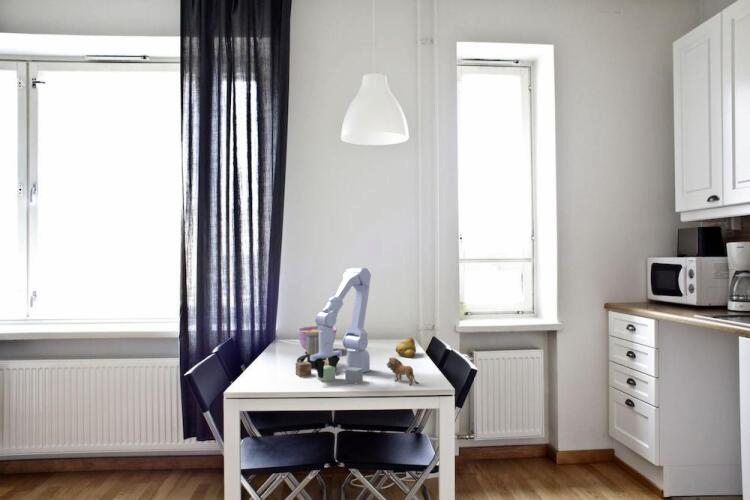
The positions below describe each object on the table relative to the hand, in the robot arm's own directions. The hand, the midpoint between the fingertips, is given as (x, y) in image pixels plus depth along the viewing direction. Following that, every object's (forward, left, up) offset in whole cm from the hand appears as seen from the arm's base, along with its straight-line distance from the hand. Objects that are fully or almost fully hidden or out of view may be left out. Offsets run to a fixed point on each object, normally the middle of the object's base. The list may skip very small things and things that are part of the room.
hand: (326, 376), depth 208 cm
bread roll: (-56, -10, -2) cm, 57 cm away
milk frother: (-11, -25, -2) cm, 28 cm away
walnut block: (+2, -13, -2) cm, 13 cm away
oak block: (-8, -9, -2) cm, 12 cm away
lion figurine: (-19, +24, -2) cm, 30 cm away
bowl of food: (-31, -48, -2) cm, 57 cm away
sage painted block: (0, 0, -1) cm, 1 cm away
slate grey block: (-6, +10, -2) cm, 12 cm away
